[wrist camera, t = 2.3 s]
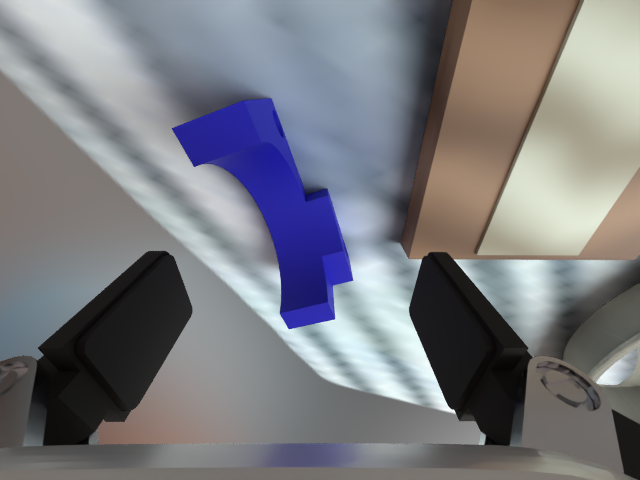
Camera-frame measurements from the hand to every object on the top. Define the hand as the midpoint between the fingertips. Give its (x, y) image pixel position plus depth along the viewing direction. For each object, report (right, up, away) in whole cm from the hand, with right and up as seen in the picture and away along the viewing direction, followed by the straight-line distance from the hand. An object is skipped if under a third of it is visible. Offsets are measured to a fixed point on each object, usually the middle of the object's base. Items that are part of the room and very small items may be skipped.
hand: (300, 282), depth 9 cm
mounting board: (+15, +8, +5) cm, 18 cm away
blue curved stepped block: (-1, +5, +8) cm, 9 cm away
